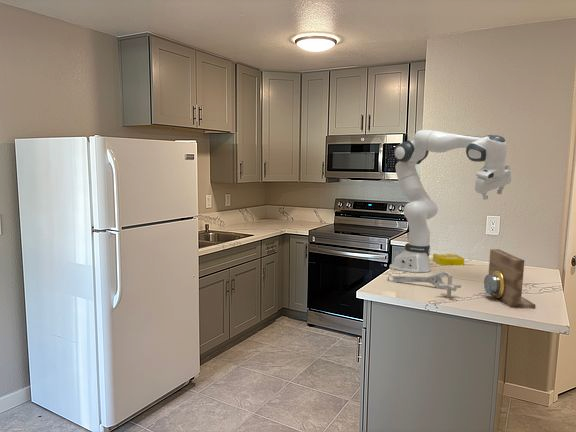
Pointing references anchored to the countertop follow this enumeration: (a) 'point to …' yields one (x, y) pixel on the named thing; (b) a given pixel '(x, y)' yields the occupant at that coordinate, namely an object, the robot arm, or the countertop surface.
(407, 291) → the countertop surface
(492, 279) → the door knob
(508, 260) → the board
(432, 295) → the countertop surface
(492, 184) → the robot arm
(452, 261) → the element tile
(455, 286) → the pipe connector
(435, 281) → the wrench
